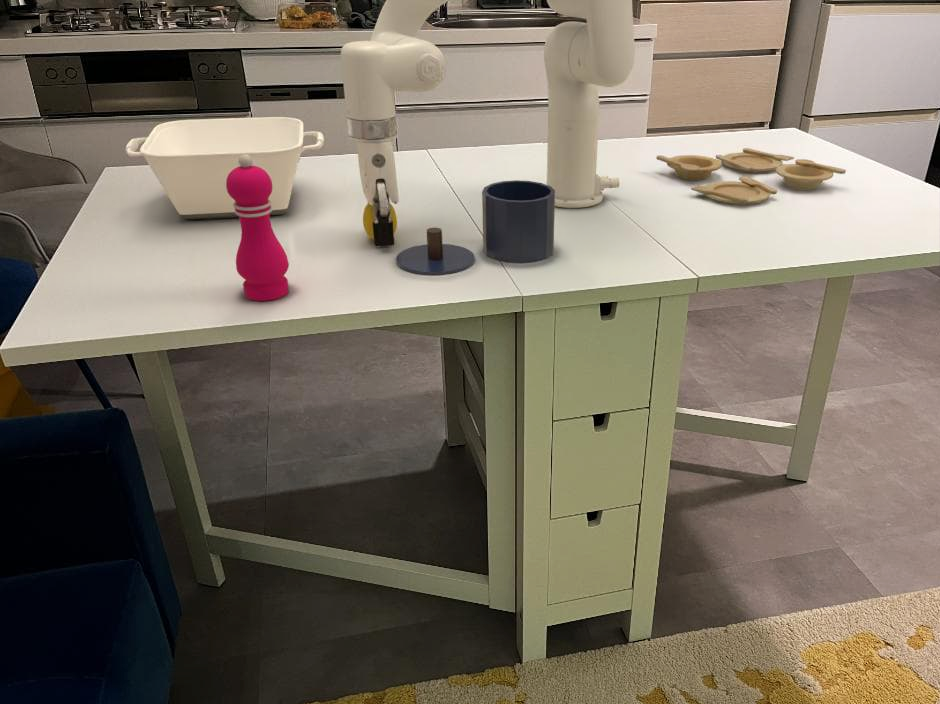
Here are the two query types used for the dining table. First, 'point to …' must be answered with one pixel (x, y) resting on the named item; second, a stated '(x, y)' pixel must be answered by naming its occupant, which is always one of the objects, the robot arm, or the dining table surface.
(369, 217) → the lemon
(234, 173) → the pepper mill
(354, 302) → the dining table surface
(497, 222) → the tin
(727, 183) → the tableware set
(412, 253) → the tin lid
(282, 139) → the tub
